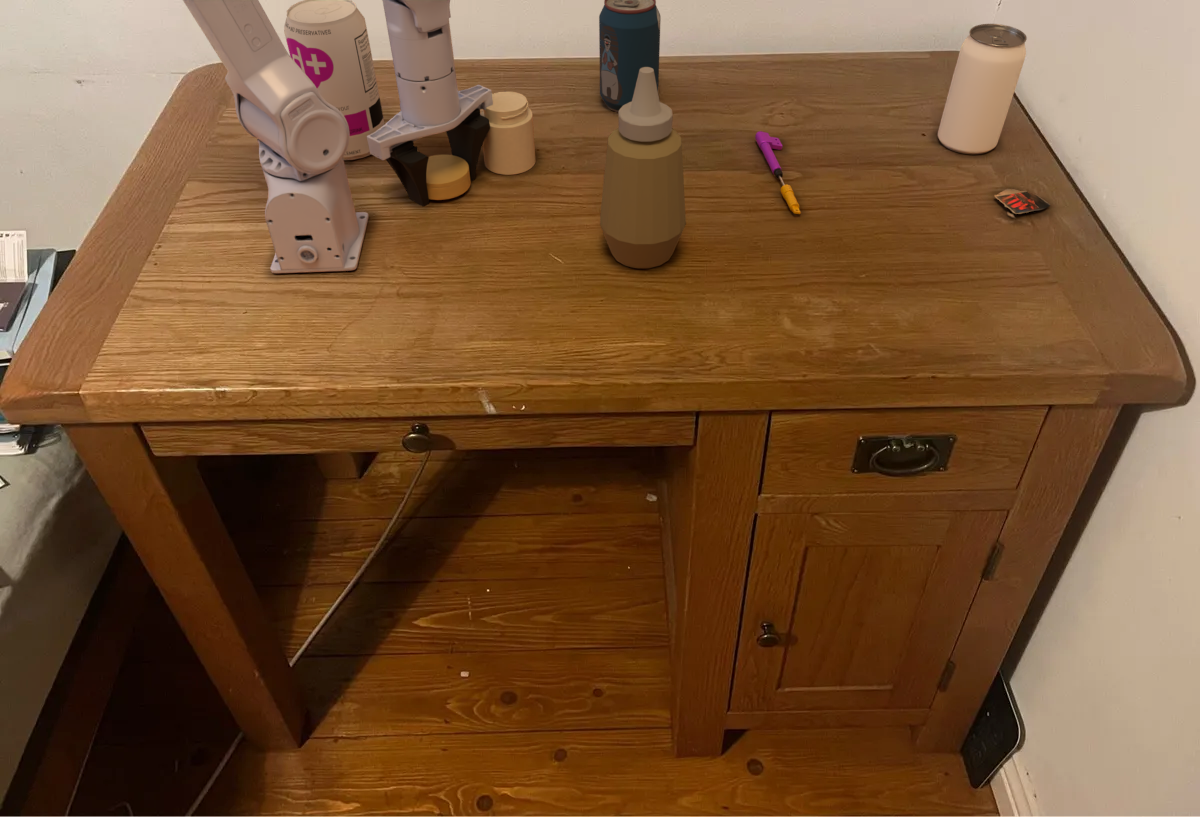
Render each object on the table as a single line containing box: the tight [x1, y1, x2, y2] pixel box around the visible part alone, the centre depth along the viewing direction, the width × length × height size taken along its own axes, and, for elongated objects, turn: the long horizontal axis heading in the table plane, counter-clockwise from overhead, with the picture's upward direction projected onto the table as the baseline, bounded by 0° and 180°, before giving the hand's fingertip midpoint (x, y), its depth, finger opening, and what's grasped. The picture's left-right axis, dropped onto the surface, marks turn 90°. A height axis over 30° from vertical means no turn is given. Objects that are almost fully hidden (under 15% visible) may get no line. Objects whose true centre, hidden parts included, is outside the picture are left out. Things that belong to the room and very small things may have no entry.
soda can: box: [598, 0, 662, 114], centre depth 106 cm, size 7×7×12 cm
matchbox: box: [993, 188, 1051, 220], centre depth 93 cm, size 5×5×1 cm
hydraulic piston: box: [754, 130, 802, 215], centre depth 97 cm, size 3×1×16 cm
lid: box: [426, 154, 472, 201], centre depth 95 cm, size 6×6×2 cm
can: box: [937, 23, 1028, 156], centre depth 98 cm, size 6×6×12 cm
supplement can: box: [283, 0, 386, 161], centre depth 98 cm, size 8×8×15 cm
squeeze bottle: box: [599, 67, 687, 269], centre depth 81 cm, size 8×8×18 cm
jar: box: [480, 91, 537, 176], centre depth 98 cm, size 6×6×7 cm
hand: (443, 193), depth 97 cm, fingers closed on lid, 6 cm apart
